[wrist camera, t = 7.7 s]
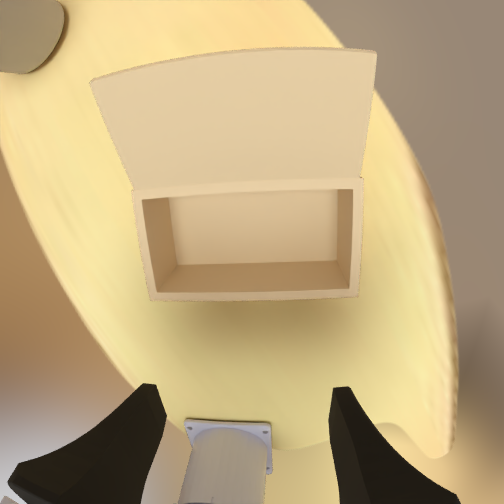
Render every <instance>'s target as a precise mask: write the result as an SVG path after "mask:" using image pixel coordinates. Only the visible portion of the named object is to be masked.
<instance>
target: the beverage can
mask: <svg viewBox="0 0 504 504" xmlns="http://www.w3.org/2000/svg"><path fill="white" fill-rule="evenodd" d="M63 25H64V11H63V8H62V6H61V4H60V3H59V2H58V1H56V0H0V72H7V73H16V74H24V73H28V72H30V71H32V70H34V69H36V68H37V67H38V66H40V65H41V64H42V63H43V62H44V61H45V60H46V58H47V57H48V56H49V55H50V53H51V52H52V51H53V49H54V47H55V46H56V44H57V42H58V40H59V38H60V35H61V32H62V29H63Z"/></svg>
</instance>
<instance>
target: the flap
mask: <svg viewBox="0 0 504 504" xmlns="http://www.w3.org/2000/svg"><path fill="white" fill-rule="evenodd" d="M376 59H377V53H376V52H375V51H373V50H363V49H348V48H331V47H275V48H256V49H243V50H232V51H223V52H214V53H207V54H200V55H193V56H187V57H181V58H175V59H170V60H165V61H160V62H155V63H150V64H146V65H141V66H137V67H133V68H129V69H125V70H121V71H118V72H114V73H110V74H107V75H103V76H100V77H97V78H94V79H92V80H91V81H90V82H89V84H90V87H91V89H92V92H93V95H94V97H95V100H96V102H97V105H98V107H99V110H100V112H101V115H102V117H103V120H104V122H105V125H106V127H107V130H108V132H109V134H110V137H111V139H112V141H113V144H114V146H115V148H116V151H117V153H118V155H119V158H120V160H121V162H122V164H123V167H124V169H125V171H126V173H127V175H128V178H129V180H130V182H131V184H132V186H133V189H134V190H142V189H152V188H162V187H172V186H183V185H195V184H208V183H223V182H239V181H258V180H283V179H328V178H360V174H361V169H362V163H363V157H364V151H365V145H366V139H367V132H368V126H369V119H370V111H371V104H372V96H373V88H374V78H375V69H376Z"/></svg>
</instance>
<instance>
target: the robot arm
mask: <svg viewBox="0 0 504 504" xmlns="http://www.w3.org/2000/svg"><path fill="white" fill-rule="evenodd" d="M166 418H167V415H166V412H165V409H164V407H163V404H162V401H161V398H160V395H159V392H158V389H157V386H156V385H155V384H146V383H143V384H142V385H141V386H140V387H138V388H137V389H136V390H135V391H134V392H133V393H132V394H131V395H130V396H129V397H128V398H127V399H126V400H125V401H124V402H123V403H122V404H121V405H120V406H119V407H118V408H117V409H115V410H114V411H113V412H112V413H111V414H110V415H109V416H107V417H106V418H105V419H104V420H103V421H101V422H100V423H99V424H98V425H97V426H96V427H94V428H93V429H91V430H90V431H88V432H87V433H86V434H84V435H83V436H81V437H79V438H78V439H76V440H75V441H73V442H71V443H69V444H67V445H66V446H64V447H62V448H60V449H58V450H56V451H53V452H51V453H49V454H46V455H44V456H41V457H38V458H35V459H32V460H28V461H25V462H21V463H19V464H18V465H17V467H16V468H15V470H14V472H13V473H12V475H11V476H10V478H9V480H8V485H9V487H10V488H11V489H12V490H13V491H14V492H15V493H16V494H18V496H19V497H20V498H22V499H23V500H24V501H25V502H26V503H27V504H141V499H142V494H143V490H144V485H145V481H146V479H147V475H148V473H149V470H150V467H151V465H152V462H153V459H154V457H155V454H156V452H157V449H158V446H159V444H160V441H161V438H162V435H163V431H164V427H165V422H166ZM184 426H185V429H186V432H187V435H188V438H189V440H190V443H191V446H192V451H191V455H190V459H189V463H188V466H187V470H186V474H185V478H184V482H183V485H182V489H181V493H180V497H179V501H178V504H264V494H265V479H266V474H271V473H272V440H271V425H270V424H268V423H242V422H219V421H204V420H192V419H186V420H185V421H184ZM329 434H330V444H331V449H332V454H333V459H334V464H335V470H336V475H337V481H338V486H339V497H340V504H461V503H460V501H459V499H458V497H457V495H456V494H454V493H452V492H450V491H449V490H447V489H445V488H443V487H441V486H440V485H438V484H436V483H435V482H433V481H432V480H430V479H429V478H427V477H426V476H425V475H423V474H422V473H421V472H419V471H418V470H417V469H416V468H414V467H413V466H412V465H411V464H409V463H408V462H407V461H406V460H405V459H404V458H403V457H402V456H401V455H400V454H399V453H398V452H397V451H395V449H393V447H392V446H391V445H390V444H389V443H388V442H387V441H386V439H385V438H384V437H383V436H382V435H381V434H380V432H379V431H378V430H377V428H376V427H375V426H374V424H373V423H372V422H371V420H370V419H369V417H368V416H367V415H366V413H365V412H364V410H363V409H362V407H361V405H360V404H359V402H358V401H357V399H356V397H355V396H354V394H353V392H352V390H351V388H350V387H336V388H333V393H332V400H331V407H330V413H329ZM0 504H18V503H17V502H15V501H13V500H12V499H10V498H8V497H7V496H4V498H3V499H2V501H1V503H0Z"/></svg>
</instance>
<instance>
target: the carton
mask: <svg viewBox="0 0 504 504" xmlns="http://www.w3.org/2000/svg"><path fill="white" fill-rule="evenodd" d="M363 192H364V178H362V177H360V178H328V179H283V180H258V181H239V182H223V183H208V184H195V185H183V186H172V187H162V188H152V189H142V190H132V191H131V193H132V200H133V208H134V214H135V221H136V228H137V234H138V240H139V246H140V251H141V257H142V262H143V268H144V273H145V278H146V283H147V288H148V292H149V297H150V301H265V300H301V299H326V298H347V297H358V291H359V279H360V266H361V250H362V230H363Z"/></svg>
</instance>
